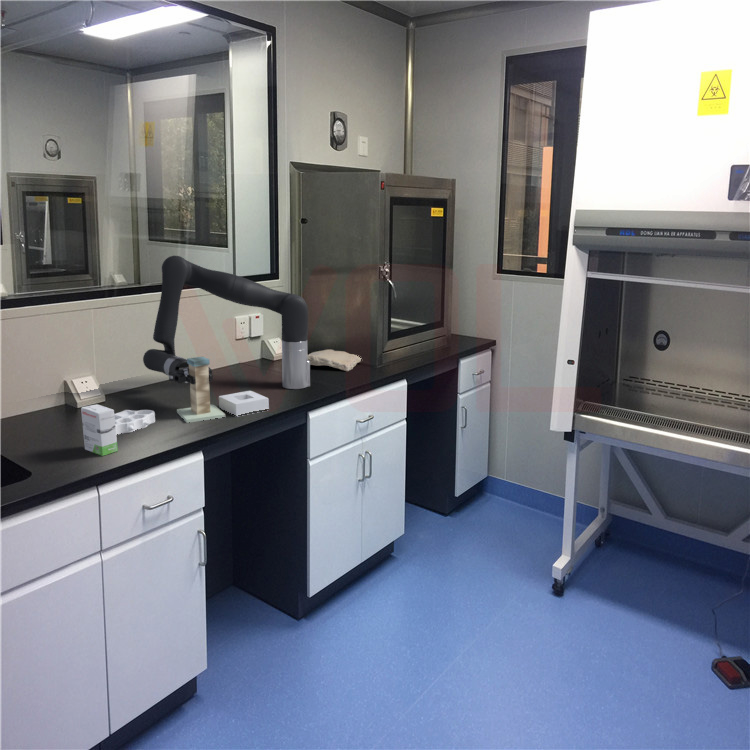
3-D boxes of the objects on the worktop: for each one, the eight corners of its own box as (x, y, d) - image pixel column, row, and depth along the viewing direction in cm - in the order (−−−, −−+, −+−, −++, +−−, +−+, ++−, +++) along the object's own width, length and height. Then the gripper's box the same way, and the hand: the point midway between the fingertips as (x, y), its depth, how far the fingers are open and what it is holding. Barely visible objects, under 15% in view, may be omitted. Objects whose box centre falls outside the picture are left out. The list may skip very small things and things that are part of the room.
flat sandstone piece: (344, 376, 266) (363, 361, 283) (343, 358, 263) (362, 344, 281) (290, 372, 274) (312, 358, 292) (288, 354, 272) (310, 341, 290)
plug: (204, 408, 213) (202, 356, 209) (211, 412, 210) (209, 359, 206) (189, 411, 210) (187, 358, 206) (196, 415, 207) (194, 361, 202)
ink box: (118, 451, 178) (115, 409, 175) (101, 456, 174) (97, 413, 172) (100, 444, 183) (96, 403, 180) (83, 449, 179) (79, 407, 177)
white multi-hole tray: (132, 415, 210) (165, 423, 203) (82, 431, 195) (116, 440, 188) (131, 405, 209) (165, 413, 202) (81, 420, 194) (115, 429, 187)
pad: (214, 407, 218) (214, 404, 218) (225, 417, 208) (225, 414, 208) (176, 412, 212) (176, 409, 212) (186, 422, 202) (186, 419, 202)
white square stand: (250, 402, 225) (250, 390, 224) (268, 410, 216) (268, 398, 215) (219, 408, 218) (218, 396, 217) (236, 416, 209) (236, 404, 208)
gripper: (157, 360, 213) (180, 371, 200) (199, 355, 222) (223, 364, 209) (159, 383, 215) (181, 395, 202) (200, 377, 223) (224, 388, 211)
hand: (202, 379), depth 205 cm, fingers open, 5 cm apart
